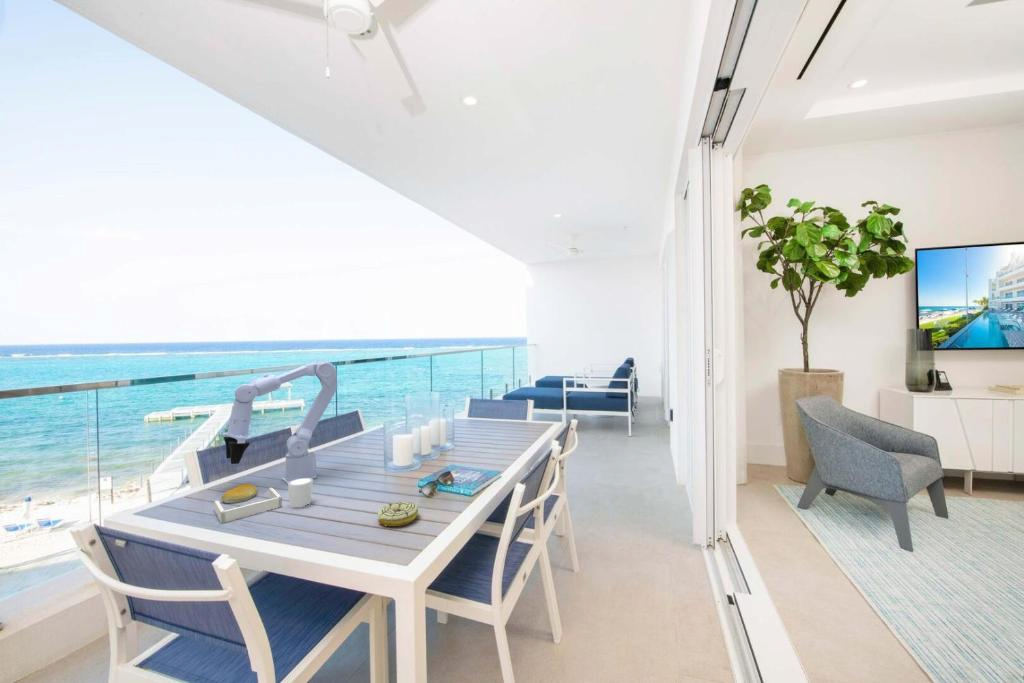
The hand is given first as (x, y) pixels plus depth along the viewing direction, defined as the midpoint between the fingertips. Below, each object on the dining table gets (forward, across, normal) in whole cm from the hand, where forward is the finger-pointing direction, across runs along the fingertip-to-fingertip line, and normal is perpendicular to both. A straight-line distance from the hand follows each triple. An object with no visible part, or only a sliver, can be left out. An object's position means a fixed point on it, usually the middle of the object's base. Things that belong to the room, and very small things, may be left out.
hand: (232, 460), depth 127 cm
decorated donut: (+4, +59, +29) cm, 66 cm away
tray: (+9, +20, +2) cm, 23 cm away
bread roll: (+10, +9, +2) cm, 14 cm away
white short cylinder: (+8, +28, +14) cm, 32 cm away
